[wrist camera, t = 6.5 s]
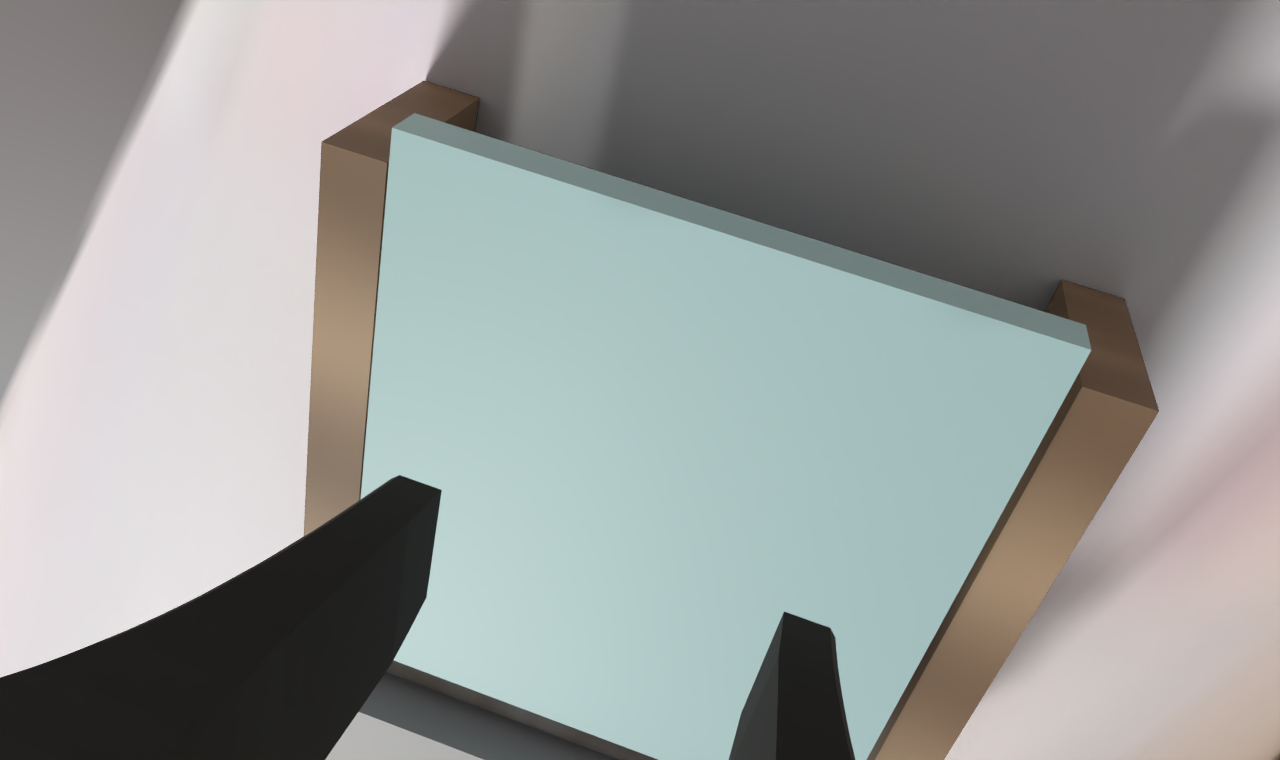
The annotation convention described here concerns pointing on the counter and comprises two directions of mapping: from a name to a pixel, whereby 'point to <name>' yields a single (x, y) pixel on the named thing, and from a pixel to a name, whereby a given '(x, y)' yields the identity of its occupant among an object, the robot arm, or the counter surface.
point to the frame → (998, 581)
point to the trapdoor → (670, 452)
